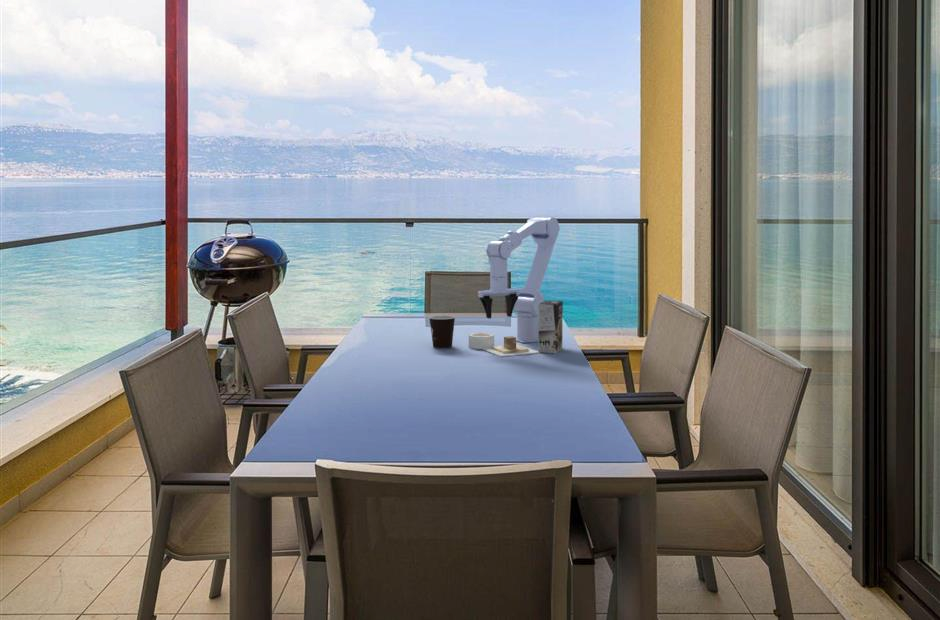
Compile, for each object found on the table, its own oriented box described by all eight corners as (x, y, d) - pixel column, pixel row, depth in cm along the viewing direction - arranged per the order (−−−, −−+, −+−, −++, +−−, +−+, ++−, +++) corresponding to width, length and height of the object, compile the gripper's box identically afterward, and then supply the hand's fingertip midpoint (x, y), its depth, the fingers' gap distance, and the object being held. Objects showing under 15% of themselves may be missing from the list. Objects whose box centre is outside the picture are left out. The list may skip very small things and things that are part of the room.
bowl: (487, 343, 293) (487, 332, 292) (497, 347, 286) (497, 335, 285) (465, 345, 290) (465, 333, 289) (475, 349, 283) (475, 337, 282)
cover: (516, 346, 285) (516, 334, 284) (528, 351, 277) (528, 338, 276) (491, 348, 281) (491, 336, 281) (503, 353, 273) (503, 340, 272)
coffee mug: (452, 349, 283) (451, 319, 282) (427, 348, 285) (426, 319, 284) (459, 342, 295) (459, 314, 293) (435, 342, 296) (434, 313, 295)
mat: (519, 346, 288) (519, 344, 288) (539, 353, 275) (539, 352, 275) (482, 349, 282) (482, 348, 282) (500, 357, 270) (500, 355, 270)
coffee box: (557, 353, 275) (557, 304, 272) (537, 352, 277) (537, 303, 274) (563, 348, 283) (563, 300, 281) (544, 347, 285) (544, 299, 283)
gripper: (484, 279, 277) (484, 320, 279) (523, 276, 283) (523, 317, 285) (475, 277, 283) (475, 317, 285) (513, 274, 289) (513, 314, 291)
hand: (499, 317), depth 285 cm, fingers open, 7 cm apart
